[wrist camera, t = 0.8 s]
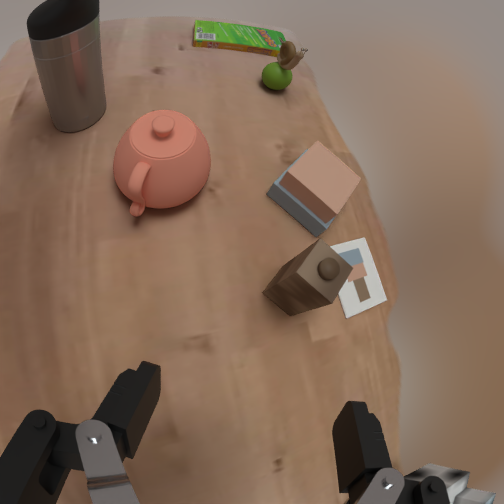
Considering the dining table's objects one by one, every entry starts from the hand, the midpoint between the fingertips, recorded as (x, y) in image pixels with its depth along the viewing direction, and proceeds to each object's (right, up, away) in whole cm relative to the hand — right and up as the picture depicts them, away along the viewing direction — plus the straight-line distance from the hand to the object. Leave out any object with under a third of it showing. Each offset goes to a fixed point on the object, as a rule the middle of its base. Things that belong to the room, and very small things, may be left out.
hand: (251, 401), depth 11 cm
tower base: (+8, +14, +31) cm, 35 cm away
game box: (-3, +52, +41) cm, 66 cm away
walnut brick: (+4, +1, +25) cm, 26 cm away
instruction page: (+15, +3, +29) cm, 32 cm away
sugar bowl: (-12, +15, +25) cm, 32 cm away
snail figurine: (+4, +36, +37) cm, 52 cm away
